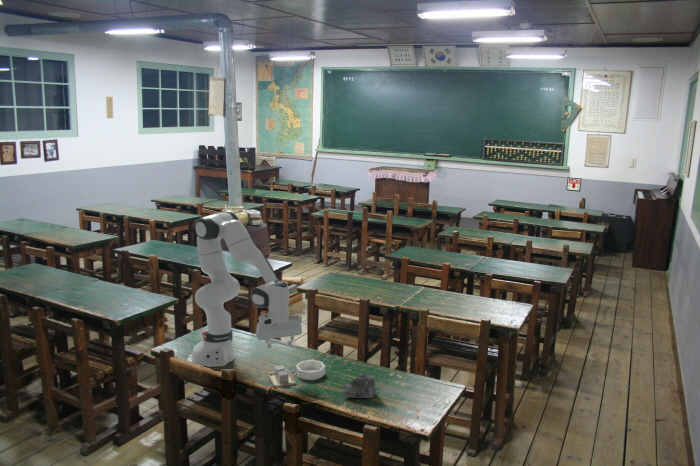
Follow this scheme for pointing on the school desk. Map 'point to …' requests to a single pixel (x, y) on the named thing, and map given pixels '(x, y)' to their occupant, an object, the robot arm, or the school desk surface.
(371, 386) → the mineral rock
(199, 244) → the robot arm
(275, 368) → the grey cube
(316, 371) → the bowl
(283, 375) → the grey rectangular block
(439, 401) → the school desk surface
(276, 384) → the tray
